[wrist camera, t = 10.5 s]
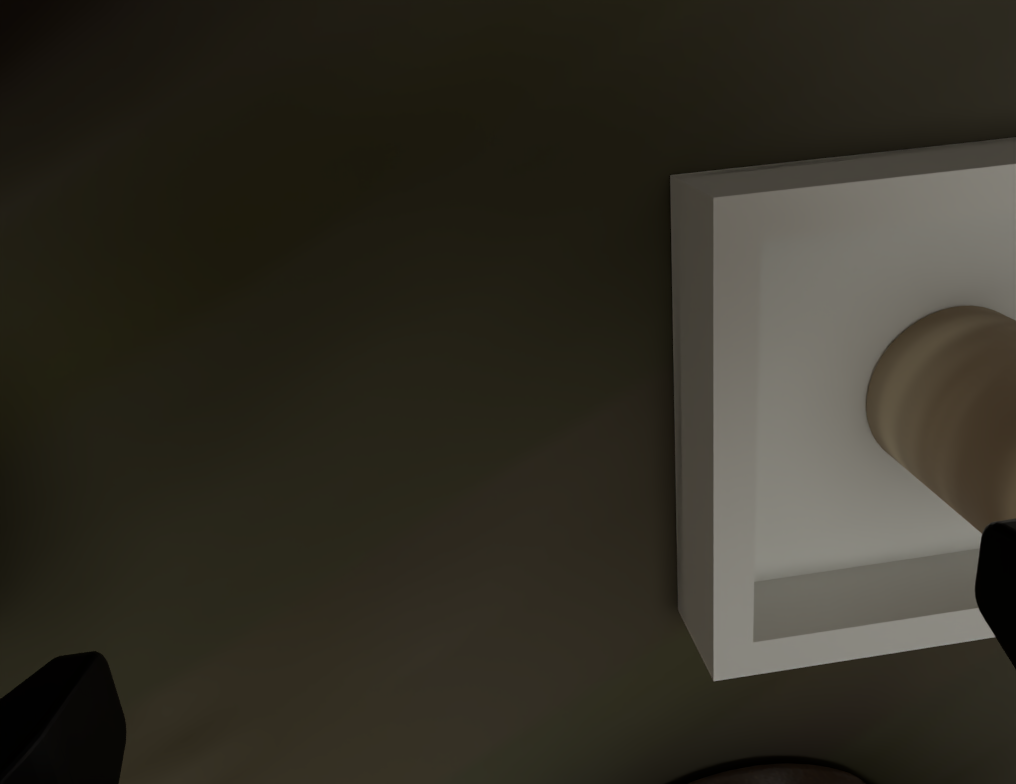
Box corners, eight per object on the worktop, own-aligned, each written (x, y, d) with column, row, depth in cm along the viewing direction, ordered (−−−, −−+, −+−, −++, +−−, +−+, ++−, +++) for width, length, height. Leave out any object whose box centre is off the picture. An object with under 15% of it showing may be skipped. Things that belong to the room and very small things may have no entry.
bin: (677, 609, 25) (713, 681, 23) (670, 175, 21) (713, 197, 18) (1145, 540, 27) (1233, 599, 24) (1234, 113, 22) (1357, 125, 19)
